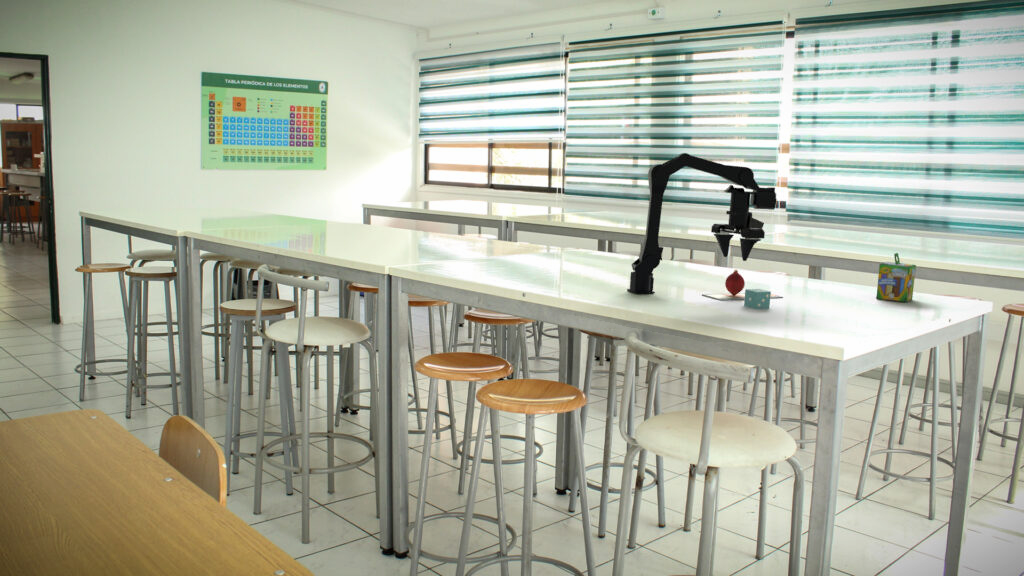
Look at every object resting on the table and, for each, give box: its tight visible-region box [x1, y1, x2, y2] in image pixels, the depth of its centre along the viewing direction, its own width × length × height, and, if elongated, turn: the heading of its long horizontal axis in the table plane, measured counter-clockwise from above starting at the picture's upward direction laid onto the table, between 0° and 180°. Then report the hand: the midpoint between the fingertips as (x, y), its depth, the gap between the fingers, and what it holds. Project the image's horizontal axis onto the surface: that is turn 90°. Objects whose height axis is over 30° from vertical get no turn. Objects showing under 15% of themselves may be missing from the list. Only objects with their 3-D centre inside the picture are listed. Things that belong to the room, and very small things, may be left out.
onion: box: [724, 269, 746, 295], centre depth 245 cm, size 6×6×8 cm
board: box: [701, 292, 784, 301], centre depth 247 cm, size 24×9×1 cm, turn 113°
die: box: [743, 288, 772, 310], centre depth 229 cm, size 5×5×5 cm
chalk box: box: [875, 252, 917, 303], centre depth 252 cm, size 9×9×15 cm
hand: (734, 258), depth 244 cm, fingers open, 9 cm apart
